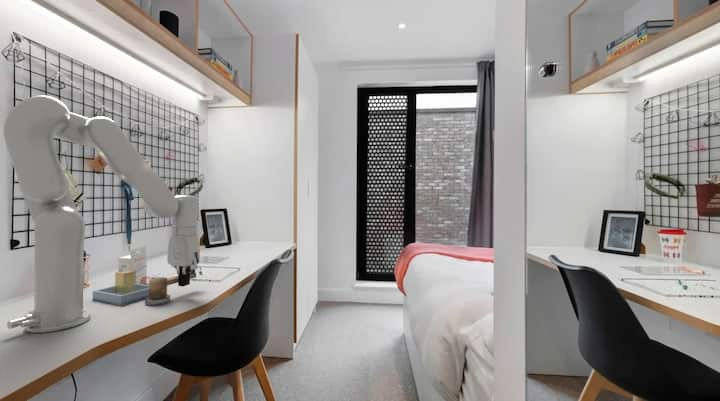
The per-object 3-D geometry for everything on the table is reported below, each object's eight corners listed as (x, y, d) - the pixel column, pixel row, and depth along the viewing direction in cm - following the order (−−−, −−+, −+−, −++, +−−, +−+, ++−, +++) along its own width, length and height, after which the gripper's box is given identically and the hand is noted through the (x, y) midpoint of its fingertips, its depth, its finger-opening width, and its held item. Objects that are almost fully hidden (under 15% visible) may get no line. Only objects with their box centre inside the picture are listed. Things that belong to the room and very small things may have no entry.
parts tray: (120, 305, 99) (121, 296, 98) (92, 300, 103) (92, 291, 103) (155, 295, 109) (155, 286, 109) (128, 290, 114) (129, 282, 114)
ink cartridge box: (134, 282, 124) (135, 245, 124) (146, 283, 124) (147, 246, 123) (117, 289, 115) (117, 249, 115) (130, 289, 115) (131, 249, 115)
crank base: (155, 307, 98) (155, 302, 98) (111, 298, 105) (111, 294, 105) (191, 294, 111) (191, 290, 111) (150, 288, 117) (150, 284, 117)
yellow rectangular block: (123, 297, 104) (123, 273, 104) (115, 296, 105) (115, 272, 105) (135, 294, 107) (135, 271, 107) (127, 292, 109) (127, 269, 109)
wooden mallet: (156, 299, 99) (156, 278, 99) (145, 297, 101) (145, 276, 101) (199, 286, 115) (199, 267, 115) (188, 284, 117) (189, 266, 117)
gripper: (158, 231, 105) (157, 285, 106) (192, 234, 100) (191, 291, 100) (178, 229, 112) (177, 280, 113) (210, 231, 107) (209, 285, 108)
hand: (184, 285), depth 107 cm, fingers closed
